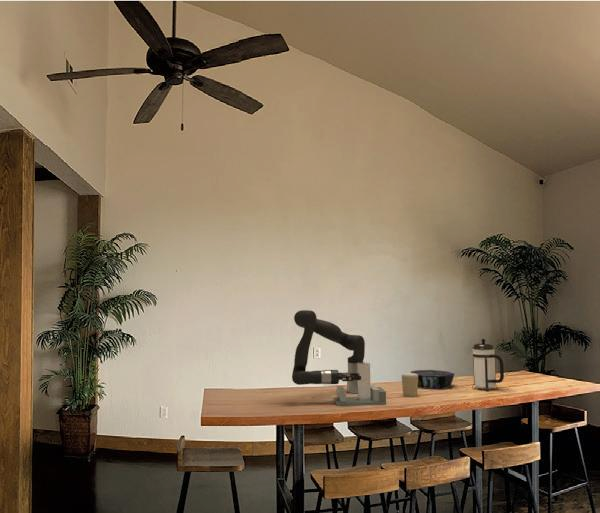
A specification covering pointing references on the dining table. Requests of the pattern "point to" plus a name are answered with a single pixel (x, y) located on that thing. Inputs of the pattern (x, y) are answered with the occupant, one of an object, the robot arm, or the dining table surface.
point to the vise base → (376, 399)
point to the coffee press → (485, 366)
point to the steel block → (364, 381)
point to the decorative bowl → (434, 379)
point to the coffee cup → (410, 384)
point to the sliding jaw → (341, 394)
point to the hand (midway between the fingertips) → (359, 376)
